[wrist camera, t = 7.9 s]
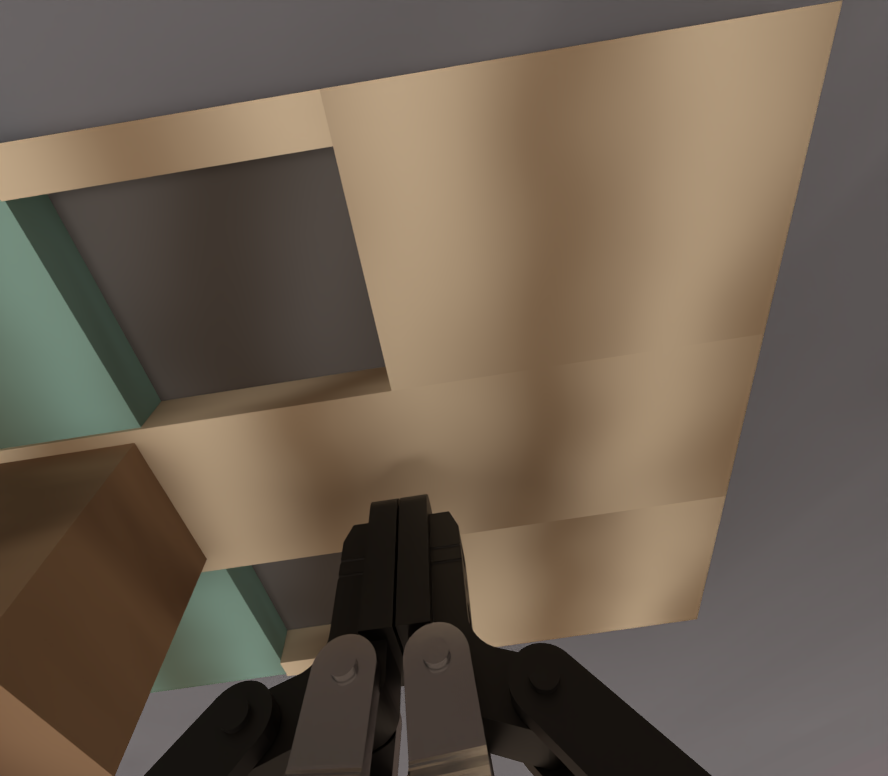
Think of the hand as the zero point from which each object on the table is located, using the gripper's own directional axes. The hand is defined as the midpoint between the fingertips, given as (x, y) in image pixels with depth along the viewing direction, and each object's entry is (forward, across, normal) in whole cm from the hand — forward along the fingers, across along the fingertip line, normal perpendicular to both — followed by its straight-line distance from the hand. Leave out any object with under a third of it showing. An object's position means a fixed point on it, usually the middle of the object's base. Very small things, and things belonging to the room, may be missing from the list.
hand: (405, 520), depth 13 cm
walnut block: (+2, +10, 0) cm, 10 cm away
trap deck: (+4, +2, 0) cm, 5 cm away
